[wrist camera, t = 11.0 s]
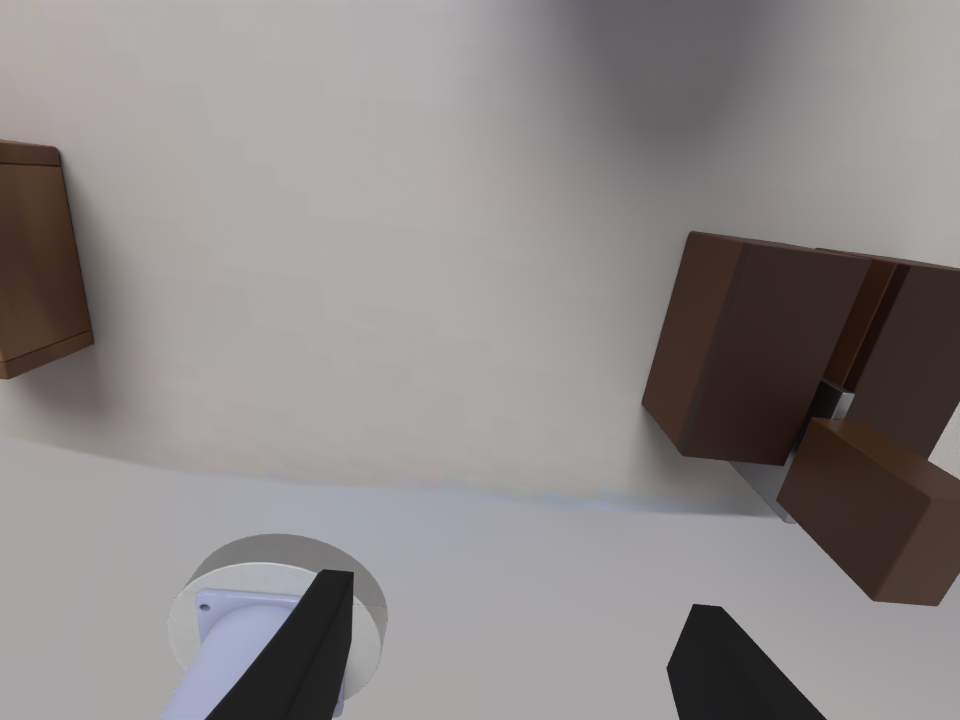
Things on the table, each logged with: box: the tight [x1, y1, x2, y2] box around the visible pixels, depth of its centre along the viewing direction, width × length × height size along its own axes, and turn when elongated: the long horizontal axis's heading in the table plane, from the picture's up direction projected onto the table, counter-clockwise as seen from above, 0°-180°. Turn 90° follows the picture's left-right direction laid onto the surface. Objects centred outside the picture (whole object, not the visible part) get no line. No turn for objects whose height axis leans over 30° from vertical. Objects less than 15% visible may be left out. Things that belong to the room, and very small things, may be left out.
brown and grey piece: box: [728, 376, 960, 606], centre depth 15 cm, size 5×2×8 cm, turn 173°
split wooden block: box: [642, 231, 960, 466], centre depth 16 cm, size 7×8×4 cm
